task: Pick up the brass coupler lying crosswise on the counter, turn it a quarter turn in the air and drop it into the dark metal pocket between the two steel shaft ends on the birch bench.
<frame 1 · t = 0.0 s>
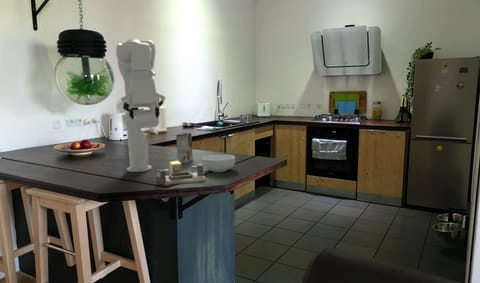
hand: (144, 118, 147), 31 cm above the countertop, tool pointing down, fingers open, 9 cm apart
coffee box: (185, 161, 212), on the countertop
cereal bowl: (219, 170, 187), on the countertop
shaft bench: (182, 179, 171), on the countertop
coupler: (176, 174, 182), on the countertop
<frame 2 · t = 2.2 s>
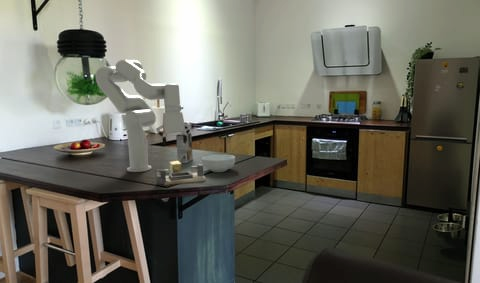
hand: (175, 144, 179), 15 cm above the countertop, tool pointing down, fingers open, 9 cm apart
nothing on the countertop moved.
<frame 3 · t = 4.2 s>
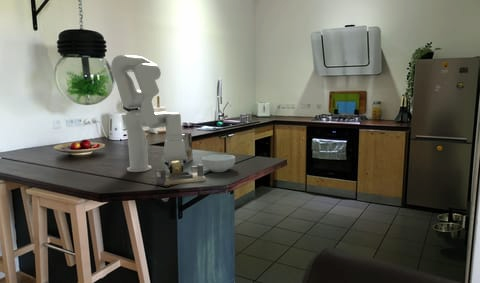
hand: (176, 173, 181), 0 cm above the countertop, tool pointing down, fingers closed on coupler, 4 cm apart
coupler: (176, 174, 182), on the countertop, touching gripper
everything else where it was.
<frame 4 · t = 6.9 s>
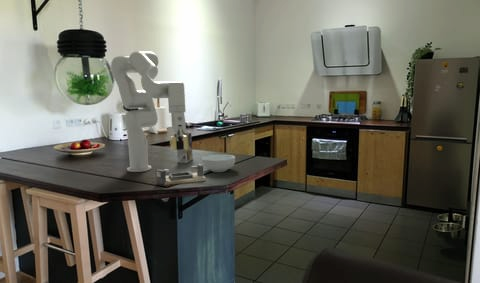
hand: (179, 148, 168), 15 cm above the countertop, tool pointing down, fingers closed on coupler, 4 cm apart
coupler: (179, 149, 168), point 15 cm above the countertop, touching gripper
everything else where it was.
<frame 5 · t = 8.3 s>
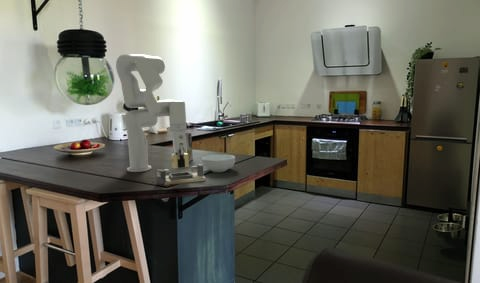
hand: (180, 165, 169), 7 cm above the countertop, tool pointing down, fingers closed on coupler, 4 cm apart
coupler: (180, 166, 169), point 6 cm above the countertop, touching gripper
everything else where it was.
when the fingers open (4 cm above the countertop, at t = 9.6 s): coupler drops 2 cm, resting on shaft bench.
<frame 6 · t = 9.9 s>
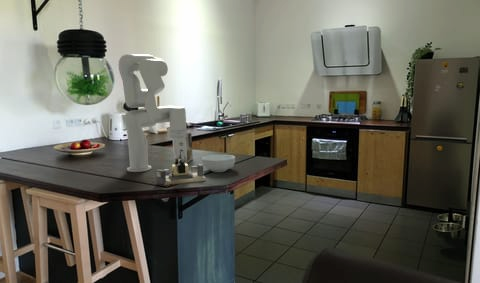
hand: (180, 171, 170), 4 cm above the countertop, tool pointing down, fingers open, 6 cm apart
coupler: (180, 177, 170), point 1 cm above the countertop, touching shaft bench
everything else where it was.
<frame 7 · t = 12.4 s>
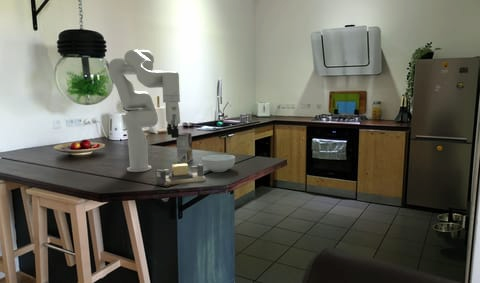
hand: (172, 136, 168), 21 cm above the countertop, tool pointing down, fingers open, 9 cm apart
nothing on the countertop moved.
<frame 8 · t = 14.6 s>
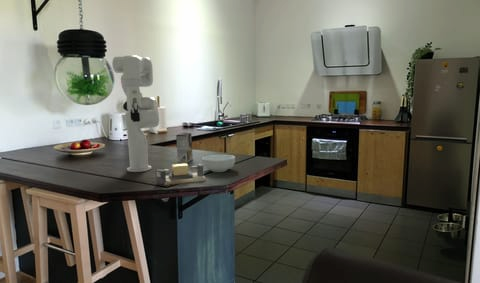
hand: (135, 120, 168), 28 cm above the countertop, tool pointing down, fingers open, 9 cm apart
nothing on the countertop moved.
at the end: coupler 0.0 cm from the target spot on the shaft bench, point 1.2 cm above the shaft bench's base; coupler tilted 0°; the gripper is holding nothing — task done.
